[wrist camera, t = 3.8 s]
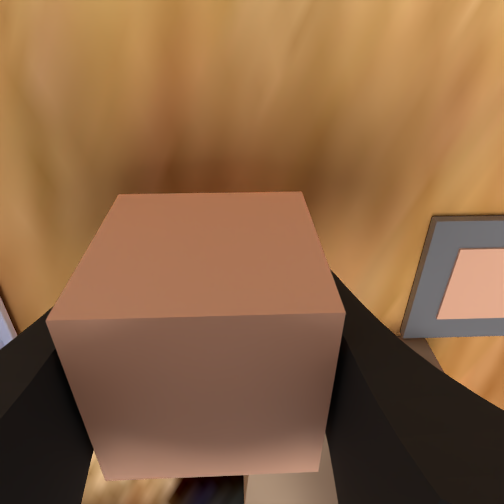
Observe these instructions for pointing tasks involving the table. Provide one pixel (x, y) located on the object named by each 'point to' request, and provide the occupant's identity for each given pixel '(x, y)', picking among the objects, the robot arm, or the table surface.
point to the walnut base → (311, 483)
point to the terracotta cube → (202, 336)
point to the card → (459, 280)
